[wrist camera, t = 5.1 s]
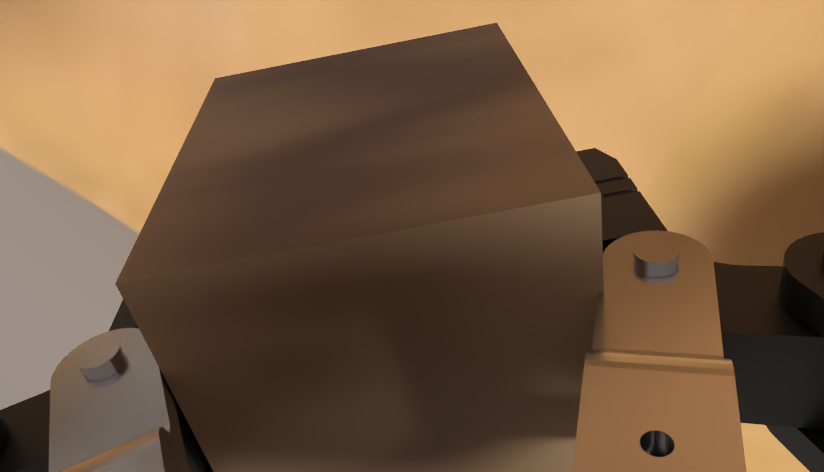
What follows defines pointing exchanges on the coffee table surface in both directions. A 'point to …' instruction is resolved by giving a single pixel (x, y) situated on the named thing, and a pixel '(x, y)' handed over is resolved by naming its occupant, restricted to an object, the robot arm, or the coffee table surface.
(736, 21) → the coffee table surface
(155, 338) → the block
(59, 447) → the robot arm
